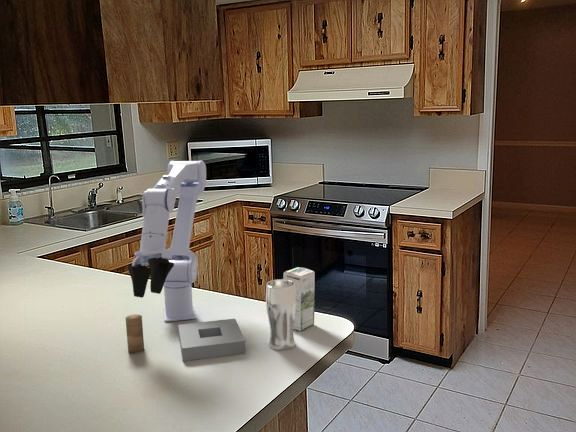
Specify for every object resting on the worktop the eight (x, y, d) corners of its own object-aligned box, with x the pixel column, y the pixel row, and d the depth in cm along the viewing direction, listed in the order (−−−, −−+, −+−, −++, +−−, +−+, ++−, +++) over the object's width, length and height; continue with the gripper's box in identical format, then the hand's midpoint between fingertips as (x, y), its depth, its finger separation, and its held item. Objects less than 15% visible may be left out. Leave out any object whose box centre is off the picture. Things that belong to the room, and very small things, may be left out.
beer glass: (271, 353, 123) (269, 289, 121) (264, 340, 130) (262, 280, 127) (300, 349, 125) (299, 286, 122) (292, 337, 132) (291, 277, 129)
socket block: (178, 336, 134) (178, 324, 133) (235, 329, 137) (235, 318, 136) (182, 361, 120) (181, 348, 120) (245, 353, 124) (245, 340, 123)
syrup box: (297, 319, 143) (296, 266, 140) (315, 324, 139) (314, 270, 136) (283, 326, 139) (282, 271, 136) (301, 332, 135) (300, 275, 132)
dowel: (128, 347, 128) (125, 315, 126) (144, 345, 128) (141, 313, 127) (127, 354, 124) (125, 321, 123) (144, 352, 125) (141, 319, 124)
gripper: (123, 239, 130) (115, 295, 125) (154, 226, 120) (147, 287, 115) (149, 245, 134) (143, 300, 130) (182, 234, 124) (176, 293, 120)
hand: (146, 294), depth 123 cm, fingers open, 7 cm apart
